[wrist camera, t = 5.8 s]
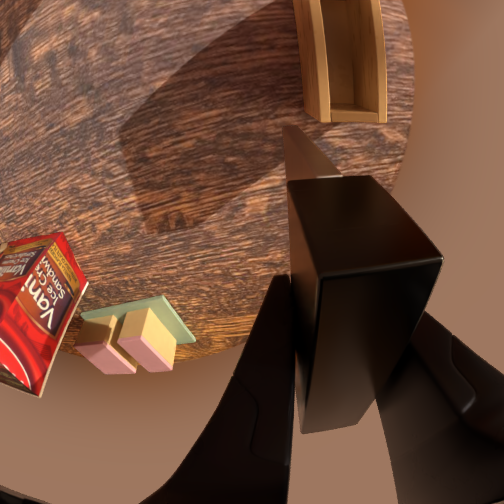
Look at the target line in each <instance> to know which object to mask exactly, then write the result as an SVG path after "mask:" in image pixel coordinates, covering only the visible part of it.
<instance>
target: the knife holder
mask: <svg viewBox="0 0 504 504" xmlns="http://www.w3.org/2000/svg"><path fill="white" fill-rule="evenodd" d="M292 2H293V8H294V15H295V23H296V30H297V38H298V47H299V56H300V66H301V76H302V87H303V100H304V112H306V113H307V114H309V115H310V116H312V117H313V118H315V119H316V120H318V121H319V122H321V123H323V122H371V123H377V122H378V123H387V76H386V56H385V43H384V33H383V24H382V16H381V9H380V2H379V0H292Z"/></svg>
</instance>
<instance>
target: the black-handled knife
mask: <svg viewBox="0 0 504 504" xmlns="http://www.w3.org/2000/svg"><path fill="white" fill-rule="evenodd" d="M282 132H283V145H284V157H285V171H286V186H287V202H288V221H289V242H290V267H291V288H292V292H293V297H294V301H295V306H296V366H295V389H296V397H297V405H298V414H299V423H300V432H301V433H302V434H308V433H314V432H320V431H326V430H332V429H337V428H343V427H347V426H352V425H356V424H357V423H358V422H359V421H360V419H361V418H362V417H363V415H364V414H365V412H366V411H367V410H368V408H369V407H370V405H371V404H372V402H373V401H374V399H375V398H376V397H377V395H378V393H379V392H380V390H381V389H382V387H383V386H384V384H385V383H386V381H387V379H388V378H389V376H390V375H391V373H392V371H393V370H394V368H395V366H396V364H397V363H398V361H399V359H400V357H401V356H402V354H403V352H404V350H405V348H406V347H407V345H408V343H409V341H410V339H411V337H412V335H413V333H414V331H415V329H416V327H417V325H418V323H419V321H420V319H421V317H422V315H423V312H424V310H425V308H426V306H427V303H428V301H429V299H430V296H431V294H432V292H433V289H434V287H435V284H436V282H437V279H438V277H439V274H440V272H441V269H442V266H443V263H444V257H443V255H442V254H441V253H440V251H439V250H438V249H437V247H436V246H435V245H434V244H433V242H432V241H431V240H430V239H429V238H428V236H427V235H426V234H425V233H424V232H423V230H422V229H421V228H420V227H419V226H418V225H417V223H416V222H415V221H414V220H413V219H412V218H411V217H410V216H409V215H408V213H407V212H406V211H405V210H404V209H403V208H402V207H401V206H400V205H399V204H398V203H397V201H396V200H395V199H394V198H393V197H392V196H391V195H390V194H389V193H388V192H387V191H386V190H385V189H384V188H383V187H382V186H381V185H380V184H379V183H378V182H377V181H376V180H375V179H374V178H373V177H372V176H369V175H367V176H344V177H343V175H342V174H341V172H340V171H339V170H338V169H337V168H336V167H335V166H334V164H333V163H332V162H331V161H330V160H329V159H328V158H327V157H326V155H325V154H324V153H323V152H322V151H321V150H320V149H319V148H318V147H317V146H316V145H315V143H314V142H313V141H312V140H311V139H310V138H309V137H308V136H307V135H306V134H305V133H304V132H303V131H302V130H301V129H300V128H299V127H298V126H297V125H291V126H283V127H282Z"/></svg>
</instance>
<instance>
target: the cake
mask: <svg viewBox="0 0 504 504" xmlns="http://www.w3.org/2000/svg"><path fill="white" fill-rule="evenodd" d="M122 326H123V325H122V324H121V323H120V322H119V321H118V320H117V318H116V317H115V316H114V315H109V316H104V317H98V318H93V319H88V320H84V322H83V324H82V327H81V329H80V331H79V334H78V336H77V339H76V341H75V344H74V348H75V349H76V350H78V351H79V352H80V353H81V354H82V355H83V356H84V357H85V358H87V359H88V360H89V361H90V362H91V363H92V364H93V365H95V366H96V367H97V368H98V369H99V370H101V371H102V372H103V373H104V374H130V373H136V369H137V364H138V362H137V361H136V360H135V359H134V358H133V357H132V356H131V355H130V354H129V353H128V352H127V351H126V350H125V349H124V348H123V347H121V346H120V345H119V344H118V343H117V341H118V339H119V335H120V332H121V329H122Z"/></svg>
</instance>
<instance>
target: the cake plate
mask: <svg viewBox="0 0 504 504" xmlns="http://www.w3.org/2000/svg"><path fill="white" fill-rule="evenodd" d="M144 308H150V309H151V310H152V311H153V313H154V314H155V315H156V316H157V318H158V319H159V320H160V321H161V323H162V324H163V325H164V326H165V328H166V329H167V330H168V331H169V332H170V334H171V335H172V336H173V337H174V338H175V339H176V341H177V342H176V345H179V344H186V343H192V342H196V338H195V337H194V336H193V334H192V333H191V332H190V331H189V329H188V328H187V327H186V325H185V324H184V323H183V321H182V320H181V319H180V317H179V316H178V315H177V313H176V312H175V311H174V309H173V308H172V306H171V305H170V304H169V302H168V301H167V299H166V298H165V297H164V295H160V296H155V297H151V298H146V299H142V300H137V301H133V302H128V303H124V304H119V305H115V306H110V307H105V308H101V309H96V310H91V311H87V312H82V313H81V315H80V316H81V317H82V318H83V319H84V320H88V319H93V318H98V317H104V316H109V315H114V316H115V317H116V318H117V320H118V321H119V322H120V323H121V324H122V325H123V323H124V320H125V317H126V314H127V312H130V311H135V310H140V309H144Z"/></svg>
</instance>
